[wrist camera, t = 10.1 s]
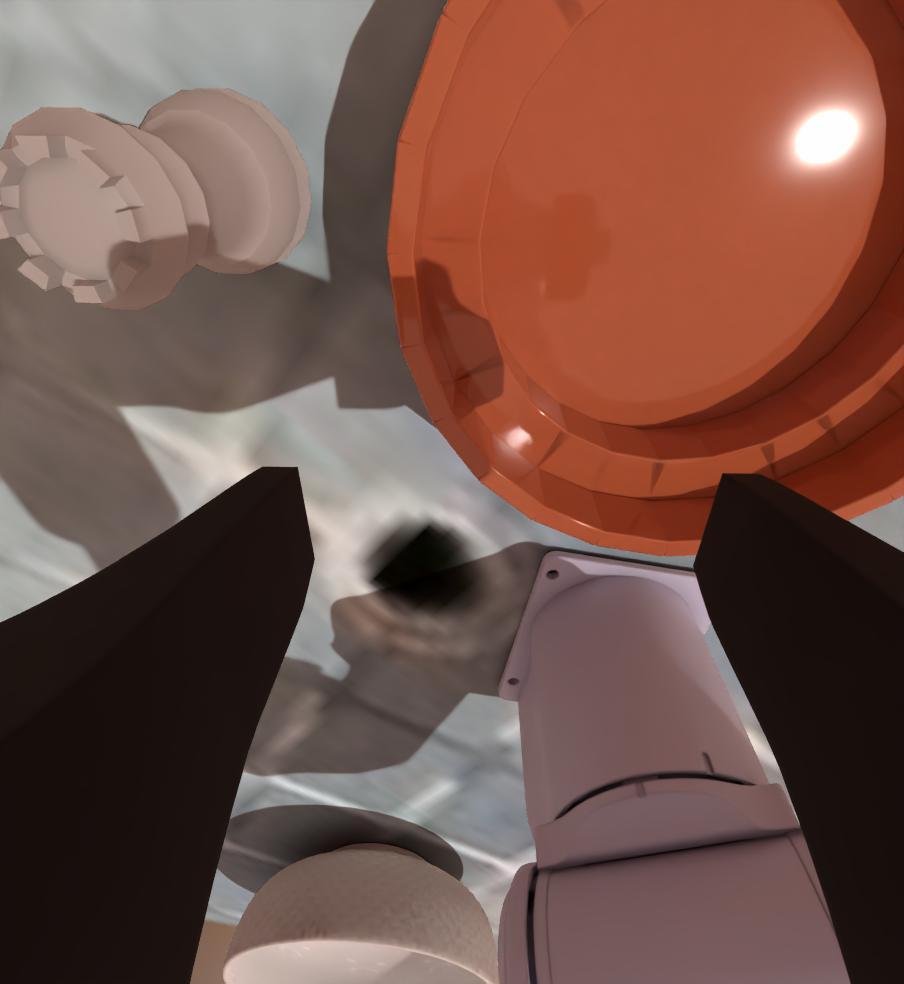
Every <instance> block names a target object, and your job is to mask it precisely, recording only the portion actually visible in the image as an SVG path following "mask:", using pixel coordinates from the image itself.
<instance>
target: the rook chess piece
mask: <svg viewBox="0 0 904 984" xmlns="http://www.w3.org/2000/svg"><path fill="white" fill-rule="evenodd" d="M0 201H1V205H0V239H4V238H9V237H13V236H14V237H15V239H16V240H17V241H18V242H19V244H20V245H21V246H22V248H23V249H24V250H25V252H26V253H27V254H28V256H29V257H30V258H31V259H29V260H27V261H26V262H25V263H24V264H23V265H22V266H21V267H20V268H19V269H18V271H20V272H21V273H22V274H24V275H25V276H26V277H28V278H29V279H30V280H32V281H33V282H34V283H35V284H37V285H38V286H39V287H41V288H42V289H43V290H45V291H47V290H49V289H52V288H55V287H57V286H60V285H61V286H62V287H64V288H65V289H66V290H68V291H69V292H70V293H71V294H73V295H74V300H75V303H94V304H97V305H100V306H102V307H105V308H107V309H136V310H141V309H143V308H145V307H147V306H149V305H152V304H154V303H156V302H158V301H160V300H162V299H164V298H166V297H168V295H169V294H170V293H171V291H172V290H173V288H174V287H175V285H176V284H177V282H178V281H179V280H180V278H181V277H182V275H183V274H185V273H187V272H189V271H191V270H192V269H193V268H194V266H195V265H196V264H197V265H199V266H202V267H204V268H206V269H209V270H211V271H214V272H217V273H236V274H251V273H253V272H255V271H257V270H262V269H264V268H266V267H268V266H270V265H273V264H275V263H277V262H279V261H281V260H283V259H286V258H287V256H288V255H289V254H290V253H291V251H292V250H293V249H294V248H295V246H296V245H297V244H298V243H299V241H300V240H301V239H302V237H303V236H304V233H305V229H306V225H307V221H308V217H309V213H310V209H311V197H310V189H309V180H308V172H307V168H306V165H305V163H304V161H303V159H302V157H301V155H300V153H299V151H298V148H297V146H296V144H295V142H294V140H293V138H292V136H291V134H290V133H289V132H288V131H287V129H286V128H285V127H284V126H283V125H282V124H281V123H280V122H279V121H278V120H277V119H276V118H275V117H274V116H273V115H272V114H271V113H270V112H269V111H268V110H267V108H266V107H265V106H264V105H262V104H260V103H258V102H256V101H254V100H252V99H250V98H248V97H246V96H244V95H241V94H239V93H237V92H235V91H233V90H231V89H194V90H181V91H179V92H177V93H176V94H174V95H172V96H171V97H169V98H167V99H165V100H164V101H162V102H160V103H158V104H157V105H155V106H154V107H153V108H151V109H150V111H149V113H148V114H147V116H146V118H145V120H144V121H143V123H142V125H141V127H140V128H139V129H138V128H136V127H134V126H132V125H117V124H115V123H113V122H110V121H108V120H106V119H104V118H102V117H99V116H97V115H95V114H93V113H91V112H88V111H86V110H84V109H82V108H40V109H38V110H37V111H35V112H34V113H32V114H30V115H29V116H27V117H25V118H24V119H22V120H20V121H19V122H17V123H16V124H14V125H12V128H11V130H10V132H9V134H8V136H7V139H6V141H5V143H4V145H3V147H2V149H0Z"/></svg>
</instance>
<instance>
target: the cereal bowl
mask: <svg viewBox="0 0 904 984" xmlns="http://www.w3.org/2000/svg"><path fill="white" fill-rule="evenodd" d="M223 978H224V981H225V983H226V984H499V978H498V965H497V953H496V945H495V941H494V938H493V932H492V929H491V927H490V924H489V921H488V918H487V916H486V914H485V912H484V910H483V909H482V907H481V905H480V903H479V902H478V901H477V900H476V898H475V897H474V895H473V894H472V893H471V892H470V891H469V890H468V888H467V887H465V886H464V885H463V884H462V883H461V882H460V881H458V880H456V879H455V877H453V876H451V875H449V874H448V873H447V872H445V871H443V870H441V869H439V868H438V867H436V866H433V865H431V864H430V863H428V862H427V861H425V860H424V859H423V858H422V857H420V856H419V855H417V854H415V853H413V852H411V851H409V850H406V849H403V848H400V847H396V846H391V845H386V844H378V843H360V844H352V845H348V846H344V847H341V848H338V849H336V850H334V851H332V852H327V853H324V854H318V855H315V856H311V857H308V858H304V859H302V860H301V861H298V862H295V863H293V864H292V865H290V866H287V867H285V868H284V869H283V870H281V871H279V872H278V873H277V874H276V875H275V876H273V877H271V878H270V879H269V881H268V882H267V883H265V884H264V885H263V886H262V887H261V889H260V890H259V891H258V892H257V893H256V894H255V895H254V897H253V899H252V900H251V902H250V903H249V904H248V906H247V908H246V910H245V912H244V914H243V915H242V917H241V920H240V922H239V924H238V926H237V928H236V931H235V933H234V936H233V938H232V941H231V943H230V947H229V949H228V952H227V955H226V958H225V961H224V966H223Z"/></svg>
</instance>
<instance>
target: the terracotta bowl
mask: <svg viewBox="0 0 904 984" xmlns="http://www.w3.org/2000/svg"><path fill="white" fill-rule="evenodd" d="M399 140H400V141H398V142H397V147H396V157H395V167H394V178H393V188H392V198H391V208H390V219H389V229H388V239H387V249H386V251H387V253H388V254H387V262H388V268H389V275H390V282H391V289H392V296H393V303H394V309H395V316H396V323H397V330H398V337H399V343H400V346H402V347H401V351H402V353H403V355H404V358H405V360H406V362H407V365H408V367H409V369H410V372H411V374H412V376H413V379H414V381H415V383H416V386H417V388H418V390H419V393H420V395H421V397H422V400H423V402H424V404H425V407H426V409H427V411H428V414H429V416H430V418H431V420H432V421H433V423H434V425H435V426H436V428H437V429H438V430H439V431H440V433H441V434H442V435H443V437H444V438H445V439H446V440H447V442H448V443H449V444H450V445H451V447H452V448H453V449H454V450H455V452H456V453H457V454H458V455H459V457H460V458H461V459H462V461H463V462H464V463H465V464H466V466H467V467H468V468H469V469H470V471H471V472H472V473H473V474H474V476H475V477H476V478H477V479H478V480H479V481H480V482H481V483H482V484H484V485H485V486H486V487H488V488H489V489H491V490H492V491H493V492H495V493H496V494H497V495H499V496H500V497H501V498H503V499H504V500H505V501H507V502H508V503H510V504H511V505H512V506H514V507H515V508H516V509H518V510H519V511H520V512H522V513H523V514H524V515H526V516H527V517H528V518H530V519H531V520H534V521H536V522H538V523H541V524H543V525H546V526H548V527H551V528H553V529H555V530H558V531H560V532H563V533H565V534H568V535H570V536H573V537H575V538H578V539H580V540H583V541H585V542H588V543H590V544H592V545H595V544H596V545H597V546H601V547H607V548H613V549H620V550H626V551H632V552H638V553H645V554H651V555H657V556H663V555H664V556H685V555H697V552H698V549H699V546H700V543H701V539H702V536H703V533H704V530H705V527H706V524H707V520H708V517H709V514H710V511H711V508H712V504H713V501H714V498H715V495H716V492H717V489H718V485H719V482H720V479H721V476H722V473H746V474H761V475H764V476H766V477H768V478H770V479H773V480H775V481H777V482H779V483H781V484H783V485H784V486H786V487H788V488H790V489H792V490H794V491H796V492H797V493H799V494H801V495H803V496H805V497H807V498H808V499H810V500H812V501H814V502H815V503H817V504H819V505H821V506H822V507H824V508H826V509H828V510H829V511H831V512H833V513H835V514H836V515H838V516H840V517H842V518H843V519H845V520H847V521H848V520H850V519H853V518H855V517H858V516H860V515H862V514H865V513H867V512H869V511H872V510H874V509H877V508H879V507H881V506H884V505H886V504H888V503H891V502H892V500H897V499H898V498H900V497H901V496H903V495H904V0H448V1H447V3H446V5H445V6H444V8H443V14H441V15H440V17H439V19H438V22H437V25H436V28H435V31H434V34H433V37H432V39H431V42H430V45H429V48H428V51H427V54H426V57H425V60H424V63H423V66H422V69H421V72H420V75H419V78H418V81H417V84H416V86H415V89H414V92H413V95H412V98H411V101H410V104H409V107H408V110H407V113H406V116H405V119H404V122H403V125H402V128H401V131H400V133H399Z"/></svg>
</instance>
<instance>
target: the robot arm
mask: <svg viewBox="0 0 904 984" xmlns="http://www.w3.org/2000/svg"><path fill="white" fill-rule="evenodd" d="M314 560H315V558H314V552H313V547H312V542H311V536H310V531H309V525H308V520H307V515H306V509H305V504H304V499H303V493H302V488H301V482H300V477H299V472H298V467H261V468H260V469H258V470H256V471H254V472H253V473H251V474H249V475H248V476H246V477H245V478H243V479H242V480H240V481H239V482H237V483H236V484H234V485H233V486H231V487H230V488H228V489H227V490H225V491H224V492H222V493H221V494H219V495H218V496H217V497H215V498H214V499H212V500H211V501H209V502H208V503H206V504H205V505H203V506H202V507H200V508H199V509H197V510H196V511H195V512H193V513H192V514H190V515H189V516H187V517H186V518H184V519H183V520H181V521H180V522H178V523H177V524H175V525H174V526H172V527H171V528H169V529H168V530H166V531H165V532H163V533H161V534H160V535H158V536H157V537H155V538H153V539H152V540H150V541H149V542H147V543H145V544H144V545H142V546H140V547H139V548H137V549H136V550H134V551H132V552H131V553H129V554H128V555H126V556H124V557H123V558H121V559H120V560H118V561H116V562H115V563H113V564H112V565H110V566H108V567H106V568H105V569H103V570H101V571H99V572H98V573H96V574H94V575H92V576H91V577H89V578H87V579H85V580H83V581H82V582H80V583H78V584H76V585H74V586H72V587H71V588H69V589H67V590H65V591H63V592H61V593H59V594H57V595H55V596H53V597H51V598H49V599H48V600H46V601H44V602H42V603H40V604H38V605H36V606H34V607H32V608H30V609H28V610H26V611H24V612H22V613H20V614H18V615H16V616H14V617H11V618H9V619H7V620H5V621H3V622H0V984H190V980H191V975H192V970H193V966H194V962H195V957H196V953H197V949H198V945H199V941H200V936H201V932H202V928H203V924H204V919H205V915H206V911H207V907H208V902H209V898H210V894H211V890H212V885H213V881H214V877H215V874H216V870H217V866H218V862H219V858H220V854H221V850H222V846H223V843H224V839H225V835H226V831H227V827H228V823H229V819H230V816H231V812H232V808H233V805H234V801H235V798H236V794H237V790H238V787H239V783H240V780H241V776H242V773H243V769H244V765H245V762H246V758H247V755H248V751H249V748H250V746H251V743H252V740H253V737H254V734H255V731H256V728H257V725H258V722H259V720H260V717H261V715H262V712H263V710H264V707H265V705H266V702H267V700H268V697H269V695H270V692H271V689H272V687H273V684H274V682H275V679H276V677H277V674H278V672H279V669H280V667H281V664H282V662H283V659H284V656H285V654H286V651H287V649H288V646H289V644H290V641H291V638H292V636H293V633H294V631H295V628H296V625H297V623H298V620H299V618H300V615H301V612H302V609H303V606H304V602H305V598H306V594H307V590H308V586H309V582H310V578H311V573H312V569H313V564H314ZM693 567H694V571H695V572H688V571H682V570H676V569H669V568H663V567H656V566H650V565H644V564H637V563H631V562H625V561H618V560H612V559H606V558H599V557H593V556H587V555H580V554H574V553H567V552H561V551H552V552H549V553H547V554H546V555H545V556H544V558H543V560H542V563H541V566H540V569H539V572H538V574H537V577H536V580H535V583H534V586H533V589H532V592H531V595H530V598H529V600H528V603H527V606H526V609H525V612H524V615H523V618H522V621H521V624H520V626H519V629H518V632H517V635H516V638H515V641H514V644H513V647H512V650H511V652H510V655H509V658H508V661H507V664H506V667H505V670H504V673H503V676H502V678H501V681H500V684H499V688H498V690H499V696H500V697H501V698H503V699H505V700H511V701H518V707H519V721H520V734H521V747H522V760H523V773H524V786H525V800H526V811H527V817H528V823H529V827H530V830H531V833H532V835H533V838H534V840H535V846H536V858H537V862H534V863H528V864H525V865H523V866H521V867H520V868H519V869H518V871H517V872H516V874H515V876H514V879H513V881H512V884H511V888H510V890H509V891H508V893H507V895H506V898H505V900H504V903H503V907H502V911H501V917H500V924H499V936H498V978H499V984H904V552H902V551H900V550H898V549H897V548H895V547H893V546H891V545H889V544H888V543H886V542H884V541H882V540H880V539H879V538H877V537H875V536H873V535H871V534H870V533H868V532H866V531H864V530H863V529H861V528H859V527H857V526H856V525H854V524H852V523H850V522H849V521H847V520H845V519H843V518H842V517H840V516H838V515H836V514H835V513H833V512H831V511H829V510H828V509H826V508H824V507H822V506H821V505H819V504H817V503H815V502H814V501H812V500H810V499H808V498H807V497H805V496H803V495H801V494H799V493H797V492H796V491H794V490H792V489H790V488H788V487H786V486H784V485H783V484H781V483H779V482H777V481H775V480H773V479H770V478H768V477H766V476H764V475H761V474H746V473H722V476H721V479H720V482H719V485H718V489H717V492H716V495H715V498H714V501H713V504H712V508H711V511H710V514H709V517H708V520H707V524H706V527H705V530H704V533H703V536H702V539H701V543H700V546H699V549H698V552H697V555H696V559H695V562H694V565H693ZM550 570H556V572H554V573H548V571H550ZM711 623H712V625H713V628H714V630H715V632H716V634H717V636H718V638H719V640H720V642H721V645H722V647H723V649H724V651H725V653H726V655H727V657H728V659H729V661H730V664H731V666H732V668H733V670H734V672H735V674H736V676H737V678H738V680H739V682H740V684H741V686H742V688H743V690H744V692H745V694H746V697H747V699H748V701H749V703H750V705H751V707H752V709H753V711H754V713H755V715H756V717H757V719H758V721H759V723H760V725H761V728H762V730H763V732H764V734H765V736H766V738H767V740H768V742H769V745H770V747H771V749H772V752H773V754H774V756H775V759H776V761H777V763H778V766H779V768H780V771H781V773H782V776H783V779H784V782H785V784H786V787H787V790H788V793H789V795H790V798H791V801H792V804H793V806H794V809H795V812H796V815H797V817H798V820H799V823H800V825H799V823H798V821H797V819H796V816H795V814H794V812H793V810H792V808H791V806H790V804H789V801H788V799H787V797H786V795H785V793H784V791H783V789H782V786H781V785H779V784H777V783H776V784H769V782H768V779H767V777H766V775H765V773H764V771H763V768H762V766H761V764H760V762H759V759H758V757H757V755H756V753H755V751H754V748H753V746H752V744H751V742H750V739H749V737H748V735H747V733H746V731H745V728H744V726H743V724H742V722H741V719H740V717H739V715H738V713H737V711H736V708H735V706H734V704H733V702H732V699H731V697H730V695H729V693H728V691H727V688H726V686H725V684H724V682H723V680H722V677H721V675H720V673H719V671H718V668H717V666H716V664H715V662H714V660H713V657H712V655H711V653H710V651H709V648H708V646H707V644H706V642H705V640H704V637H703V636H704V634H705V632H706V631H707V629H708V628H709V626H710V624H711Z"/></svg>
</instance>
